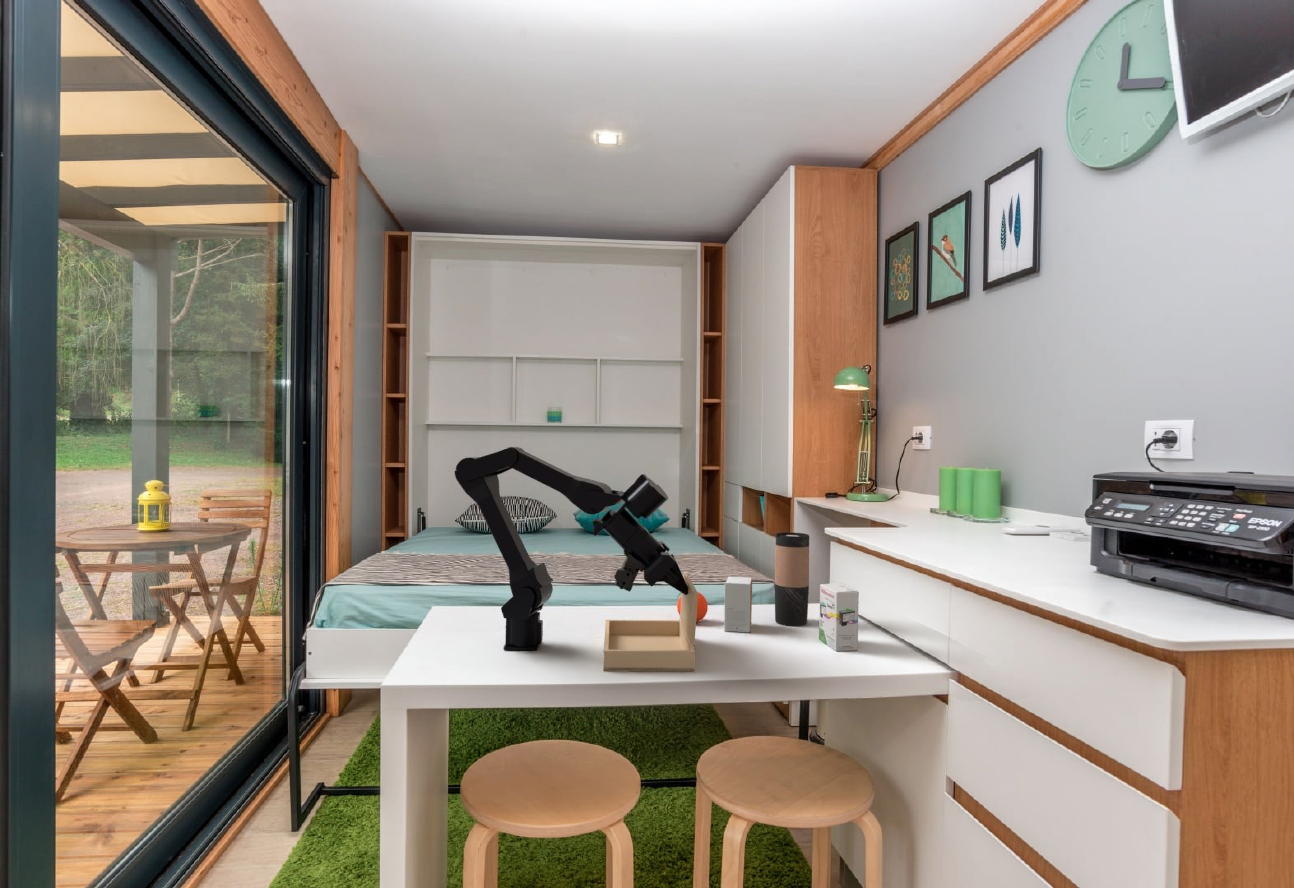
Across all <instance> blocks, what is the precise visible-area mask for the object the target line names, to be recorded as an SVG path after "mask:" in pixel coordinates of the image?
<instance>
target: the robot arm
mask: <svg viewBox="0 0 1294 888" xmlns="http://www.w3.org/2000/svg"><path fill="white" fill-rule="evenodd" d="M512 469H513V470H515V471H516V472H518V473H521V474H523V475H524V476H527V477H529V478H531V479H533V480H534V481H537V482H539V483H541V484H543V485H545V487H546V486H547V487H549V488H551V489H553V490H555V491H556V492H558V493H561V495H563V496H565V498H566V499H568V501H569V502H570V503H571V504H573V505H574V506H575V507H577V508H578V509H579V510H580V511H582V512H584V513H586V514H588V515H596V514H600V513H603V512H605V511H607V510H608V511H607V512H606V513H605V514H603V516H602V517H600V518H594V519H593V521H592V525H593V527H592V530H593V531H592V535H593V536H595V537H596V536H597V535H598V534H600V533H601V532H602V530H603V531H604V532H606V533H607V535H609V536H610V537H611V538H612V540H614V541H615V543H616V544H617V546H618V545H619V547H621V549H623V551H622V552H623V555H624V556H625V558H624V561H623V563H622V565H621V567H620V568H617V569H616V572H615V574H614V575H613V578H614V586H616V587H618V588H619V589H620V590H625V591H627V592H629V593H630V592H631V591H632V588H633V584H634V582H635V580H636V578H637V576H638V574H639V571H640V572H641V573H642V572H643V579H644V581H645V582H646V583H648V585H649V586H650V587H653V586H655V584H657V583H659V582H664V583H666V584H667V585H669V586H670V587H672V588H673V589H675V590H676V591H678V592H679V593H681V594H682V593H683V594H684V595H687V594H688V586H687V584H686V582H685V580H684V577H683V572H682V571H681V569H680V566H679V564H678V562H677V560H676V558H675V556H674V554H673V553H669V551H670V550H671V549H670V547H669V546H668V545H667V544H666V543H665V542H664V541H660V540H657V539H656V538H655V537H654V536H653V535H652V534H651V533H650V532H649V530H648V529H647V528H646V527H645V526H643V525H642V523H640V522H639V520H640V519H641V518H644V519H645V520H647V519H649V518H650V517H651V516H652V515H653V514H654V513H655V512H657V510H658V509H660V508H661V507H662V506H663V505H664V504H665V502H667V501H668V500H669V497H668V494H667V493H666V492H665V491H664V489H663V488H662V487H661V486H660V485H659V484H657V483H656V482H654V480H652V479H651V478H649V477H648V476H647V475H646V474H645V473H643V474H640V475H639V476H638V477H637V478H636V480H635V481H634V482H633V483H632V484H631V485H630V486H629V487H628V488H627V489H626V490H625V491H623V490H620V491H619V490H614V489H612V488H611V486H609V485H608V484H606V483H604V482H601V481H597V480H594V479H590V478H586V477H581V476H577V475H575V474H574V475H573V474H572V473H569V472H568V471H565V470H564V469H562V468H560V467H557V466H555V465H554V464H551V463H549V462H547V461H546V460H544V459H541V458H539V457H537V456H535V455H533V454H531V453H529V452H527V451H525V450H524V449H523V448H522V447H519V446H507V447H506V448H503V449H502V450H499V451H495V452H493V453H490V454H489V453H488V454H487V455H483V456H481V457H479V456H473V457H472V456H471V457H464V458H462V459H461V460H459V462H457V464H456V467H455V469H454V477H455V479H456V481H457V483H458V484H459V486H460V487H461V489H462V490H463V491H464V492H465V494H466V495H467V496H468V497H469V498H470V499H472V500H473V502H475V503H476V504H477V506H478V508H479V510H480V512H481V515H482V516H483V518H484V520H485V522H486V524H487V527H488V530H489V531H490V534H491V535H492V537H493V539H494V541H495V544H496V545H497V546H496V547H497V548H498V550H499V552H500V554H501V556H502V558H503V561H504V562H505V564H506V566H507V569H508V574H509V575H508V580H509V587H510V591H511V594H512V597H510V598H509V599H508V600H507V601H506V603H504V604H503V605H502V606H501V607H500V610H501V612H502V613H501V614H502V617H503V619H505V643H504V645H503V650H505V651H506V650H507V651H508V650H509V651H511V650H512V651H514V650H515V651H517V650H518V651H537V650H538V649H539V647H540V645H541V644H542V643H543V640H544V639H543V635H544V633H543V632H544V631H543V630H544V628H543V626H544V620H543V619H541V612H540V611H541V610H543V607H544V605H545V603H546V602H548V601H550V598H551V596H552V594H553V590H554V589H553V584H552V582H553V581H554V579H553V577H551V576H550V574H549V572H548V570H547V566H546V564H545V563H544V562H541V563H540V564H537V563H536V562H535V561H534V560H532V558H531V557H530V555H529V553H528V551H527V549H526V547H525V545H524V542H523V540H522V538H521V537H520V536H521V535H520V534H519V532H518V530H517V528H516V525H515V524H514V522H513V519H512V518H511V515H510V514H509V512H508V511H509V510H508V509H507V507H506V505H505V503H504V500H503V499H502V497H501V494H500V479H499V476H498V475H501V474H504V473H506V472H508V471H511V470H512ZM622 503H623V504H622ZM619 504H622V505H621V506H620V507H619V508H617V509H616V510H613V509H609V508H611V507H612V506H616V505H619Z"/></svg>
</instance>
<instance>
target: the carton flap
mask: <svg viewBox="0 0 1294 888" xmlns="http://www.w3.org/2000/svg"><path fill="white" fill-rule="evenodd" d="M682 575H683V577H684V580H685V582H686V584H687V586H688V594H687V595H684V594H683V593H681V594H680V597H681V608H680V615H679V620H681V622H682V624H683V627H684V630H685V632H686V635H687V638H688V640H689V643H690V644H692V645H695V640H696V631H697V630H696V629H697V628H696V626H697V622H696V618H697V605H698V591H697V589H696V587H695V586H694V584H693V581H692V580H691V578H690V577H689V574H688V573H682Z"/></svg>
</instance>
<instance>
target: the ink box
mask: <svg viewBox="0 0 1294 888" xmlns="http://www.w3.org/2000/svg"><path fill="white" fill-rule="evenodd" d="M859 592H860V591H858V590H857V589H855V588H853V587H851V586H849V585H847V584H845V583H842V582H835V583H821V584H819V620H818V621H819V623H818V624H819V625H818V626H819V629H818V630H819V631H818V640H819V641H821V642H822V643H824V644H825V645H827V647H829V648H831V649H832V650H833V651H836V652H844V651H845V652H846V651H847V652H849V651H851V652H852V651H858V649H859V603H860V601H859V594H860V593H859Z"/></svg>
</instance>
